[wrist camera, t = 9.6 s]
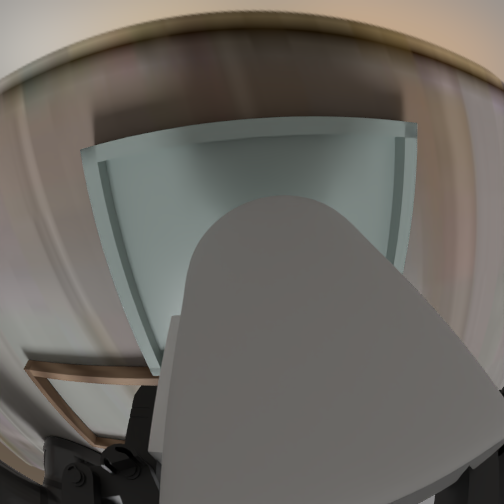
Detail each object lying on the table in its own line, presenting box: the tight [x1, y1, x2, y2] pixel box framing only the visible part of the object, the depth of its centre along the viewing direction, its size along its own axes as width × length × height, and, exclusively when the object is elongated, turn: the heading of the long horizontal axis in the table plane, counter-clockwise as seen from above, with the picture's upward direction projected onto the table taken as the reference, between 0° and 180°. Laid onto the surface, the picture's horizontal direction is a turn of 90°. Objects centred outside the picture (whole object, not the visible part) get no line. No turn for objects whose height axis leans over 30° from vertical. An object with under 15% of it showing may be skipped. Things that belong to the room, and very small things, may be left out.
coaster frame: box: [24, 360, 159, 449], centre depth 26 cm, size 18×18×2 cm
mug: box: [159, 195, 504, 504], centre depth 9 cm, size 12×8×11 cm
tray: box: [80, 116, 417, 376], centre depth 18 cm, size 20×18×2 cm
